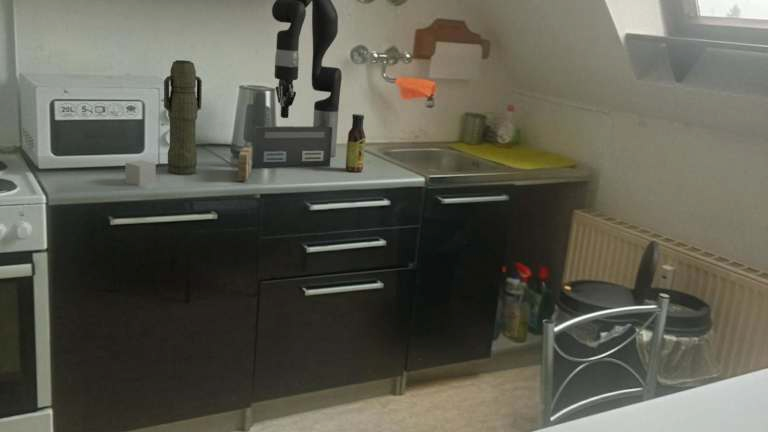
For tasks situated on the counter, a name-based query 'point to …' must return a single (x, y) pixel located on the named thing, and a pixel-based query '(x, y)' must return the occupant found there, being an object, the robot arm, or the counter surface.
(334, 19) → the robot arm
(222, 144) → the counter surface
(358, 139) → the sauce bottle
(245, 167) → the wooden block
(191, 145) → the thermos
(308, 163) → the panel
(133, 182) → the light grey cube
